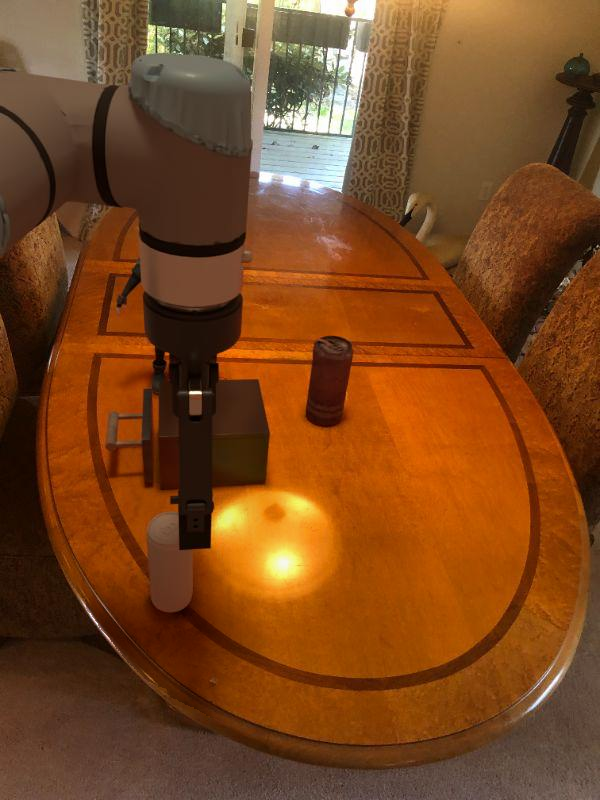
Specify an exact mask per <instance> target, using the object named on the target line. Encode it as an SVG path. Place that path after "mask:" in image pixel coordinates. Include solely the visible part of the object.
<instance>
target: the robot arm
mask: <svg viewBox="0 0 600 800" xmlns="http://www.w3.org/2000/svg"><path fill="white" fill-rule="evenodd" d="M253 145H254V141H253V139H252V86H251V82H250V79H249V77H248V76H247V74H246V73H245V72H244V70H243V69H242V68H241V67H240V66H238V65H236V64H235V63H232V62H229V61H228V60H224V59H221V58H216V57H211V56H206V55H199V54H190V53H189V54H187V53H186V54H181V53H179V54H177V53H173V52H155V53H146V54H142V55H140V56H138V57H136V58H135V59H134V60H133V62H132V63H131V67H130V79H129V81H128V82H127V84H122V85H115V84H104V83H99V82H98V83H97V82H90V81H83V80H76V79H69V78H63V77H55V76H48V75H41V74H34V73H28V72H27V73H26V72H22V71H17V70H16V69H14V68H9V67H3V66H2V67H0V260H1V259H2V258H3V257H4V256H5V254H7V253H8V252H9V251H10V250H11V249H12V248H14V247H15V245H17V244H18V243H19V242H20V241H22V240H23V239H24V238H25V237H26V236H27V235H28V234H29V233H30V232H32V231H33V230H34V229H35V228H37V227H39V226H40V225H41V224H42V223H44V222H45V221H46V220H47V219H48V218H50V217H51V216H52V215H53V214H55V213H56V212H57V211H58V210H59V209H60V208H61V207H63V206H64V205H65V204H67V203H70V202H72V203H81V204H89V205H97V206H105V207H112V208H129V209H134V210H136V213H137V218H138V235H137V237H138V250H139V252H138V253H139V255H140V270H141V282H140V284H141V287H142V289H143V293H142V307H143V310H142V311H143V326H144V334H145V337H146V338H147V340H148V341H149V342H150V344H151V345H152V346H154V348H155V347H157V348H158V349H160V350H162V351H164V352H165V354H168V359H169V361H168V381H170V383H171V385H172V411H173V414H174V415H175V416H176V417H178V419H179V462H180V488H179V489H178V490H177V495H170V496H169V505H177V511H178V512H177V513H178V515H179V550H193V551H194V550H209V549H212V515H213V513H214V510H215V502H214V500H213V497H214V491H213V487H212V416H213V415H214V414H215V413H216V384H217V382H218V380H220V368H219V366H220V365H219V362H218V361H217V360H218V355H219V354H221V353H224V352H227V351H228V350H229V349H231V348H232V347H234V346H235V345H236V344H237V343H238V341H239V340H240V338H241V336H242V335H241V334H242V327H243V326H242V323H243V307H244V306H243V304H244V297H243V295H242V293H241V292H242V291H243V288H244V273H245V269H244V265H243V264H249V263H252V262H253V260H254V253H253V251H252V250H251V249H249V248H248V249H247V248H245V247H246V239H247V238H246V237H247V224H248V223H247V222H248V221H247V220H248V211H249V209H248V208H249V195H250V180H251V165H252V164H251V163H252V152H253ZM179 386H180V389H179Z"/></svg>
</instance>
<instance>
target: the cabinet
mask: <svg viewBox="0 0 600 800" xmlns="http://www.w3.org/2000/svg"><path fill="white" fill-rule="evenodd" d="M259 380H260V379H258V378H248V379H247V378H246V379H245V378H241V379H219V380H218V382H217V384H216V413H215V414H214V415H213V416H212V488H214V487H232V486H233V487H234V486H252V485H253V486H254V485H266V478H267V470H268V469H267V467H268V459H269V458H268V457H269V447H270V437H271V432H270V427H269V422H268V418H267V413H266V408H265V403H264V398H263V394H262V389H261V384H260V381H259ZM179 389H180V386H179ZM157 432H158V455H159V457H158V458H159V477H160V478H159V481H160V490H175V489H178V490H180V462H179V419H178V417H176V416H175V415H174V414H173V411H172V385H171V383H170V381H169V380H166V381H159V394H158V431H157Z"/></svg>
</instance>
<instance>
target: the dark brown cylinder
mask: <svg viewBox="0 0 600 800" xmlns="http://www.w3.org/2000/svg"><path fill="white" fill-rule="evenodd" d="M353 358H354V349H353V345H352V343H351V341H349V340H348V339H346V338H344V337H342V336H338V335H324V336H322V337H320V338H317V339H315V340H314V342H313V347H312V362H311V369H310V376H309V381H308V383H309V384H308V391H307V398H306V406H305V415H306V417H307V418H308V419H309V421H310V422H312V423H313V424H315V425H318V426H322V427H330V426H334V425H336V424H337V423H339V422H340V421H341V420H342V418H343V413H344V407H345V401H346V398H347V390H348V386H349V381H350V375H351V369H352V363H353Z"/></svg>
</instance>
